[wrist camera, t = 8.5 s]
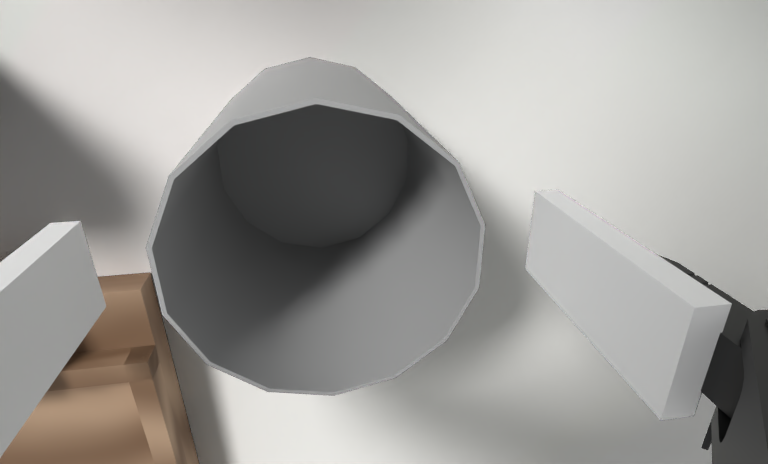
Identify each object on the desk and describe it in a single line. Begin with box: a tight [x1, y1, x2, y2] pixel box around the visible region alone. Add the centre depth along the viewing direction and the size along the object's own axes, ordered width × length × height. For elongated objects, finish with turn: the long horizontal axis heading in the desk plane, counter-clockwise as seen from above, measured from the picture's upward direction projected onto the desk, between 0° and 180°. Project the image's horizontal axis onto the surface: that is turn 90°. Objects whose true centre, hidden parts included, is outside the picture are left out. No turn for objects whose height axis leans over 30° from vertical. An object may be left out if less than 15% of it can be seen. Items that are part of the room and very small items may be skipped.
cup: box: [146, 57, 485, 396], centre depth 16 cm, size 8×8×10 cm
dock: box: [0, 273, 199, 464], centre depth 23 cm, size 17×16×4 cm
